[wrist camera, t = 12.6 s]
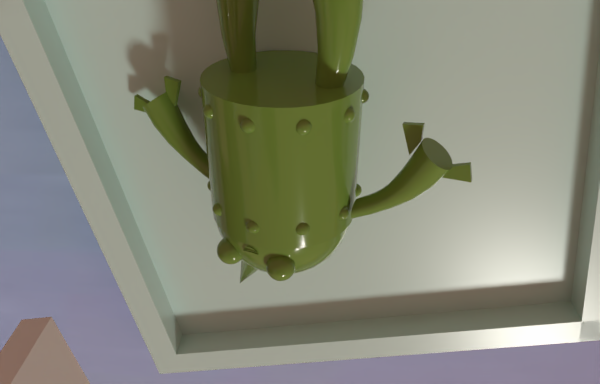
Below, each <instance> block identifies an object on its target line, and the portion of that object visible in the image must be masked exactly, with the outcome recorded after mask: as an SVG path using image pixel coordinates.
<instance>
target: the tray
mask: <svg viewBox="0 0 600 384" xmlns="http://www.w3.org/2000/svg"><path fill="white" fill-rule="evenodd" d="M0 35H1V37H2V39H3V41H4V43H5V46H6V48H7V50H8V52H9V54H10V56H11V58H12V61H13V63H14V65H15V67H16V69H17V71H18V73H19V75H20V78H21V80H22V82H23V84H24V86H25V88H26V90H27V92H28V95H29V97H30V99H31V101H32V103H33V105H34V107H35V109H36V112H37V114H38V116H39V118H40V120H41V122H42V124H43V126H44V129H45V131H46V133H47V135H48V137H49V139H50V141H51V143H52V146H53V148H54V150H55V152H56V154H57V156H58V158H59V160H60V163H61V165H62V167H63V169H64V171H65V173H66V175H67V178H68V180H69V182H70V184H71V186H72V188H73V190H74V192H75V195H76V197H77V199H78V201H79V203H80V205H81V207H82V209H83V212H84V214H85V216H86V218H87V220H88V222H89V224H90V226H91V229H92V231H93V233H94V235H95V237H96V239H97V241H98V243H99V246H100V248H101V250H102V252H103V254H104V256H105V258H106V260H107V263H108V265H109V267H110V269H111V271H112V273H113V275H114V277H115V280H116V282H117V284H118V286H119V288H120V290H121V292H122V294H123V297H124V299H125V301H126V303H127V305H128V307H129V309H130V312H131V314H132V316H133V318H134V320H135V322H136V324H137V326H138V329H139V331H140V333H141V335H142V337H143V339H144V341H145V343H146V346H147V348H148V350H149V352H150V354H151V356H152V358H153V360H154V363H155V365H156V367H157V369H158V371H159V373H160V374H163V373H176V372H190V371H203V370H216V369H229V368H242V367H255V366H268V365H281V364H295V363H308V362H321V361H334V360H347V359H360V358H373V357H386V356H400V355H413V354H426V353H439V352H452V351H465V350H478V349H491V348H505V347H518V346H531V345H544V344H557V343H570V342H583V341H596V340H600V0H363V13H362V20H361V25H360V30H359V35H358V40H357V44H356V49H355V54H354V57H353V60H352V64H354V65H355V66H357V67H358V68H359V69H360V70H361V71H362V72H363V75H364V77H365V78H364V89H366V90H367V91H368V93H369V99H368V101H367V102H366V103H364V104H363V106H362V119H361V133H360V147H359V161H358V175H357V184H359V185H360V186H361V188H362V192H361V194H360V195H359V196H358V197H356V199H357V198H360V197H363V196H366V195H369V194H372V193H375V192H376V191H378V190H380V189H382V188H383V187H385V186H386V185H388V184H389V183H390V182H391V181H392V180H393V179H394V177H395V176H396V175H397V174H398V173H399V172H400V171H401V170H402V168H403V167H404V166H405V164H406V163H407V162H408V160H409V159H410V157H411V156H412V155H413V153H414V152H415V150H416V149H417V147H418V146H419V145H420V143H421V142H422V141H421V142H420V143H419V145H418V146H417V147H416V148H415V149H414V151H413V152H412V153H411V154H410V155H409V152H408V148H407V143H406V139H405V134H404V130H403V125H402V124H403V123H404V122H414V123H425V124H424V131H423V138H422V140H423V139H424V138H431V139H433V140H435V141H437V142H438V143H440V144H441V145H442V146H443V147H444V148H445V149H446V150H447V152H448V153H449V155H450V157H451V159H452V163H453V164H457V163H467V162H471V168H472V182H465V181H459V180H454V179H448V178H441V179H440V180H439V181H438V182H437V183H436V184H435V185H434V186H433V187H432V188H430V189H429V190H427V191H425V192H424V193H422V194H421V195H419V196H418V197H416V198H414V199H413V200H410V201H408V202H405V203H403V204H401V205H398V206H396V207H393V208H390V209H387V210H384V211H381V212H377V213H374V214H371V215H366V216H362V217H358V218H353V219H352V222H351V224H350V225H349V228H348V230H347V232H346V234H345V236H344V238H343V241H342V243H341V244H340V245H339V246H338V248H337V249H336V250H335V251H334V252H333V253H332V255H331V256H330V257H329V258H327V259H326V260H324V261H323V262H322V263H320V264H318V265H317V266H315V267H314V268H311V269H309V270H306V271H303V272H299V273H294V274H293V275H292V276H291V277H290V278H289V279H287V280H285V281H276V280H274V279H272V278H271V277H270V276H269V275H268V273H267V272H263V271H260V270H257V271H256V272H255V273H253V274H252V275H251V276H249V277H248V278H246V279H245V280H244V281H242V282H241V283H240V272H241V261H239V262H238V263H236V264H226V263H224V262H222V261H221V260H220V259H219V257H218V255H217V246H218V243H219V242H220V241H221V240H222V237H221V235H220V232H219V230H218V227H217V223H216V222H215V220H214V216H213V211H212V201H211V191H210V190H209V189H208V187H207V184H208V181H209V179H208V178H207V177H205V176H204V175H203V174H202V173H200V172H199V171H198V170H197V169H196V168H195V167H193V166H192V165H191V164H190V163H189V162H188V161H186V160H185V159H184V158H183V157H182V156H181V155H180V154H179V153H178V152H177V151H176V150H175V149H174V148H173V147H171V146H170V145H169V144H168V142H167V141H166V140H165V139H164V138H163V136H162V135H161V134H160V133H159V132H158V130H157V129H156V128H155V127H154V125H153V124H152V122H151V120H150V119H149V117H148V115H147V114H146V112H142V111H138V110H135V109H134V96H135V95H137V94H138V95H140V96H142V97H143V98H145V99H147V100H149V101H152V100H153V99H155V98H157V97H158V96H160V95H162V94H163V93H165V92H166V89H165V82H164V77H165V76H170V77H173V78H175V79H178V80H181V86H180V92H179V97H178V103H177V104H178V106H179V109H180V111H181V113H182V115H183V117H184V119H185V121H186V123H187V125H188V127H189V129H190V130H191V132H192V134H193V136H194V137H195V139H196V141H197V142H198V144H199V145H200V146H201V148H202V149H203V150H204V151H205V152H206V153H207V150H206V140H205V130H204V119H203V109H202V99H201V97H200V96H199V95H198V89H199V87H200V76H201V73H202V72H203V71H204V70H205V69H206V68H207V67H209V66H210V65H212V64H213V63H215V62H218V61H220V60H222V59H225V58H227V55H226V52H225V48H224V44H223V40H222V36H221V30H220V23H219V17H218V10H217V3H216V0H0ZM272 50H293V51H307V52H315V53H318V48H317V35H316V21H315V10H314V5H313V1H312V0H259V9H258V18H257V26H256V52H259V51H272Z"/></svg>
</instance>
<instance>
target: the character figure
mask: <svg viewBox="0 0 600 384" xmlns="http://www.w3.org/2000/svg"><path fill="white" fill-rule="evenodd" d="M312 1H313V5H314V10H315V21H316V35H317V48H318V53H315V52H307V51H293V50H272V51H259V52H256V26H257V18H258V9H259V0H216V3H217V10H218V17H219V23H220V30H221V36H222V40H223V44H224V48H225V52H226V55H227V58H225V59H222V60H220V61H218V62H215V63H213V64H212V65H210V66H209V67H207V68H206V69H205V70H204V71H203V72H202V73H201V76H200V87H199V89H198V95H199V96H200V97H201V99H202V109H203V119H204V130H205V140H206V150H207V153H206V152H205V151H204V150H203V149H202V148H201V146H200V145H199V144H198V142H197V141H196V139H195V137H194V136H193V134H192V132H191V130H190V129H189V127H188V125H187V123H186V121H185V119H184V117H183V115H182V113H181V111H180V109H179V106H178V104H177V103H178V97H179V92H180V86H181V80H178V79H175V78H173V77H170V76H165V77H164V82H165V89H166V92H165V93H163V94H162V95H160V96H158V97H157V98H155V99H153V100H152V101H149V100H147V99H145V98H143V97H142V96H140V95H138V94H137V95H135V96H134V109H135V110H138V111H142V112H146V114H147V115H148V117H149V119H150V120H151V122H152V124H153V125H154V127H155V128H156V129H157V130H158V132H159V133H160V134H161V135H162V136H163V138H164V139H165V140H166V141H167V142H168V144H169V145H170V146H171V147H173V148H174V149H175V150H176V151H177V152H178V153H179V154H180V155H181V156H182V157H183V158H184V159H185V160H186V161H188V162H189V163H190V164H191V165H192V166H193V167H195V168H196V169H197V170H198V171H199V172H200V173H202V174H203V175H204V176H205V177H207V178H208V179H209V181H208V184H207V187H208V189H209V190H210V191H211V201H212V211H213V216H214V220H215V222H216V223H217V227H218V230H219V232H220V235H221V237H222V240H221V241H220V242H219V243H218V246H217V255H218V257H219V259H220V260H221V261H222V262H224V263H226V264H236V263H238V262H239V261H241V272H240V283H241V282H242V281H244V280H245V279H246V278H248V277H249V276H251V275H252V274H253V273H255V272H256V271H257V270H260V271H263V272H267V273H268V275H269V276H270V277H271V278H272V279H274V280H276V281H285V280H287V279H289V278H290V277H291V276H292V275H293V274H294V273H299V272H303V271H306V270H309V269H311V268H314V267H315V266H317V265H318V264H320V263H322V262H323V261H324V260H326V259H327V258H329V257H330V256H331V255H332V253H333V252H334V251H335V250H336V249H337V248H338V246H339V245H340V244H341V243H342V241H343V238H344V236H345V234H346V232H347V230H348V228H349V225H350V224H351V222H352V219H353V218H358V217H362V216H366V215H371V214H374V213H377V212H381V211H384V210H387V209H390V208H393V207H396V206H398V205H401V204H403V203H405V202H408V201H410V200H413V199H414V198H416V197H418V196H419V195H421V194H422V193H424V192H425V191H427V190H429V189H430V188H432V187H433V186H434V185H435V184H436V183H437V182H438V181H439V180H440V179H441V178H448V179H454V180H459V181H465V182H472V168H471V162H467V163H457V164H453V163H452V159H451V157H450V155H449V153H448V152H447V150H446V149H445V148H444V147H443V146H442V145H441V144H440V143H438V142H437V141H435V140H433V139H431V138H424V139H423V140H422V138H423V131H424V124H425V123H414V122H404V123H403V124H402V125H403V130H404V134H405V139H406V143H407V148H408V152H409V155H410V154H411V153H412V152H413V151H414V149H415V148H416V147H417V146H418V145H419V143H420V142H421V141H422V142H421V143H420V145H419V146H418V147H417V149H416V150H415V152H414V153H413V155H412V156H411V157H410V159H409V160H408V162H407V163H406V164H405V166H404V167H403V168H402V170H401V171H400V172H399V173H398V174H397V175H396V176H395V177H394V179H393V180H392V181H391V182H390V183H389V184H388V185H386V186H385V187H383V188H382V189H380V190H378V191H376V192H375V193H372V194H369V195H366V196H363V197H360V198H357V199H356V197H358V196H359V195H360V194H361V192H362V188H361V186H360V185H359V184H357V175H358V161H359V147H360V133H361V119H362V106H363V104H364V103H366V102H367V101H368V99H369V93H368V91H367V90H366V89H364V78H365V77H364V75H363V72H362V71H361V70H360V69H359V68H358V67H357V66H355V65H354V64H352V60H353V57H354V54H355V49H356V44H357V40H358V35H359V30H360V25H361V20H362V13H363V0H312Z"/></svg>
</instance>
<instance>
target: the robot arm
mask: <svg viewBox="0 0 600 384" xmlns="http://www.w3.org/2000/svg"><path fill="white" fill-rule="evenodd" d="M0 384H90V383H89V381H88V379H87V378H86V376H85V374H84V372H83V371H82V369H81V367H80V365H79V364H78V362H77V360H76V359H75V357H74V355H73V353H72V352H71V350H70V348H69V346H68V345H67V343H66V341H65V340H64V338H63V336H62V334H61V333H60V331H59V329H58V327H57V326H56V324H55V322H54V321H53V319H52V317H45V318H35V319H25V320H21V322H20V323H19V325H18V326H17V328H16V329H15V331H14V332H13V334H12V335H11V337H10V338H9V340H8V341H7V343H6V344H5V346H4V347H3V349H2V350H1V352H0Z"/></svg>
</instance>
